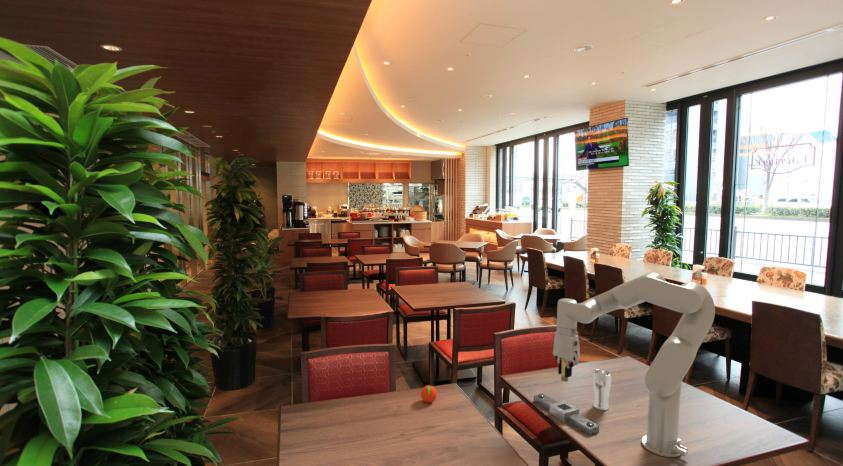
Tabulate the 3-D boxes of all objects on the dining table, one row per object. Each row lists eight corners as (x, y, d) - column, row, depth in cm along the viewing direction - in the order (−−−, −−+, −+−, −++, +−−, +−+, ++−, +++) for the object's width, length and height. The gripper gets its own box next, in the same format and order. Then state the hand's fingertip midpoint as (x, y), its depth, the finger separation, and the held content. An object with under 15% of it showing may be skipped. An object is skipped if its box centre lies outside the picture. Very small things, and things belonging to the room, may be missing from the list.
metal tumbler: (606, 403, 185) (608, 369, 183) (612, 411, 178) (613, 376, 176) (590, 402, 185) (591, 368, 184) (594, 410, 178) (596, 375, 177)
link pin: (570, 380, 172) (571, 358, 172) (564, 382, 171) (565, 360, 170) (564, 377, 175) (565, 355, 175) (558, 379, 174) (559, 357, 173)
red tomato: (437, 407, 182) (437, 390, 181) (420, 406, 182) (420, 390, 181) (436, 398, 190) (436, 382, 189) (421, 397, 190) (421, 382, 189)
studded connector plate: (601, 430, 163) (602, 421, 163) (586, 436, 159) (587, 427, 159) (545, 397, 190) (545, 389, 189) (530, 401, 186) (531, 393, 186)
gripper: (589, 334, 166) (587, 381, 168) (558, 323, 180) (556, 366, 182) (575, 337, 162) (573, 385, 164) (544, 325, 177) (543, 369, 178)
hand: (564, 374), depth 173 cm, fingers closed on link pin, 2 cm apart
